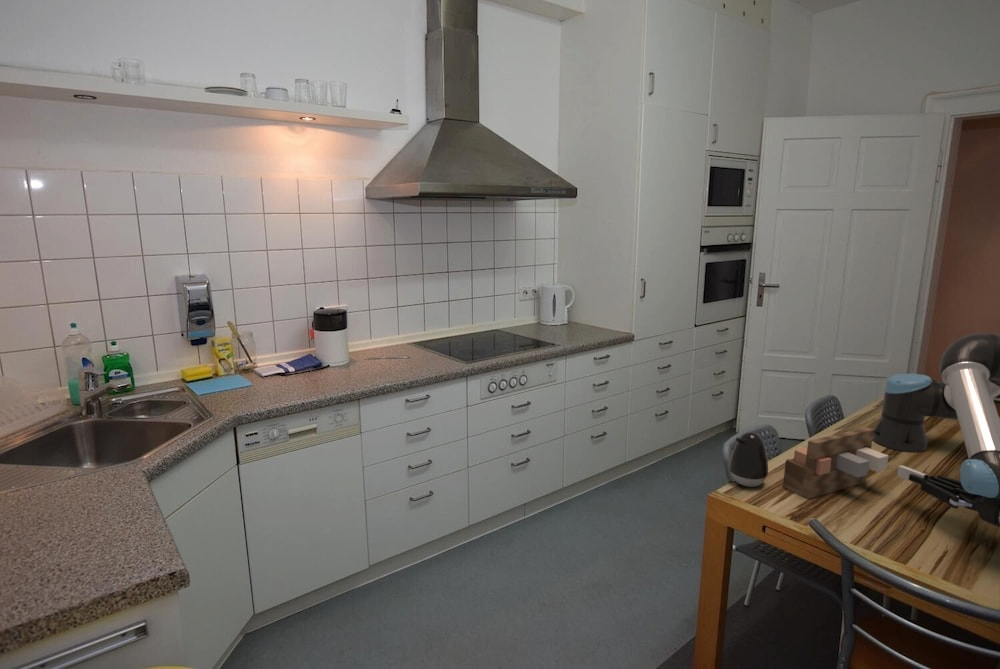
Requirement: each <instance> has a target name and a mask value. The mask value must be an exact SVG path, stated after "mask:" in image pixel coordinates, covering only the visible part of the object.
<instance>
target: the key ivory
mask: <svg viewBox="0 0 1000 669" xmlns="http://www.w3.org/2000/svg"><path fill="white" fill-rule="evenodd" d="M856 456H859V457H861V458H864V459H866V460H869V468H868V470H871V471H873V472H876V473H879V472H882V471H885V470H887V469H888V463H889V455H888V454H885V453H883V452H880V451H878V450H875V449H872V448H871V449H870V448H867V447H860V448H857V449H856Z"/></svg>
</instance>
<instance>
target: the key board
mask: <svg viewBox="0 0 1000 669" xmlns="http://www.w3.org/2000/svg"><path fill="white" fill-rule="evenodd" d="M874 429H875V428H871V427H868V426H867V427H862V428H857V429H854V430H849V431H848V430H847V431H845V432H841V433H837V434H833V435H828V436H823V437H819V438H816V439H811V440H808V441H807V447H806V448H807V455H806V464H805V466H803V465H801V464H799V463H796V462H794V460H792V459H789V458H788V459H785V467H784V473H783V475H784V476H783V481H782V487H783V488H785V489H787V490H789V491H790V492H793V493H795V494H797V495H799V496H801V497H803V498H805V499H807V500H811V499H814V498H818V497H820V496H824V495H828V494H830V493H834V492H837V491H841V490H843V489H844V490H845V489H848V488H851V487H854V485H855V486H857V484H858V485H861V484H864V482H865V483H866V482H867V479H868V478H867V477H868V475H865V476H861V477H858V478H857V477H855V476H853V475H850V474H848V473H846V472H844V471H841V470H839V469H837V468H835V466H836V458H837V453H841V452H845V451H846V452H848V453H851V454H854V455H856V449H857V448H860V447H867V448H870V449H872V445H873V433H874ZM825 456H826V457H829V458H831V466H830V473H826V474H822V475H818V474H816V473H815V470H816V462H817V458H821V457H825ZM847 487H848V488H847Z"/></svg>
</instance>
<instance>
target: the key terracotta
mask: <svg viewBox="0 0 1000 669" xmlns="http://www.w3.org/2000/svg"><path fill="white" fill-rule="evenodd" d="M806 455H807V447H801V448H798V449H795V450H794V454H793V461H794V462H796V463H799V464H801V465H803V466H805V464H806ZM830 466H831V458H829V457H826V456H825V457H821V458H817V462H816V470H815V473H816V474H818V475H822V474H826V473H830Z"/></svg>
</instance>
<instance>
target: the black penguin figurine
mask: <svg viewBox="0 0 1000 669" xmlns="http://www.w3.org/2000/svg"><path fill="white" fill-rule="evenodd" d="M735 441H736V444H735V446H734V448H733V450H732V452H731V456H730V459H729V463H728V470H729V472H730V476H731V477H732V479H733V480H734V481H735V483H737V484H739V485H741V486H744V487H747V488H753V487H758V486H760V485H763V483H764V481H765V480H766V478H767V477H768V474H769V462H768V455H767V450H766V447H765V444H764V441H763V439H762V438H761V436H760V435H759V434H757V433H756V432H753V431H748V432H745V433H743V434H742V435H741V436H740V437H736V438H735Z"/></svg>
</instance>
